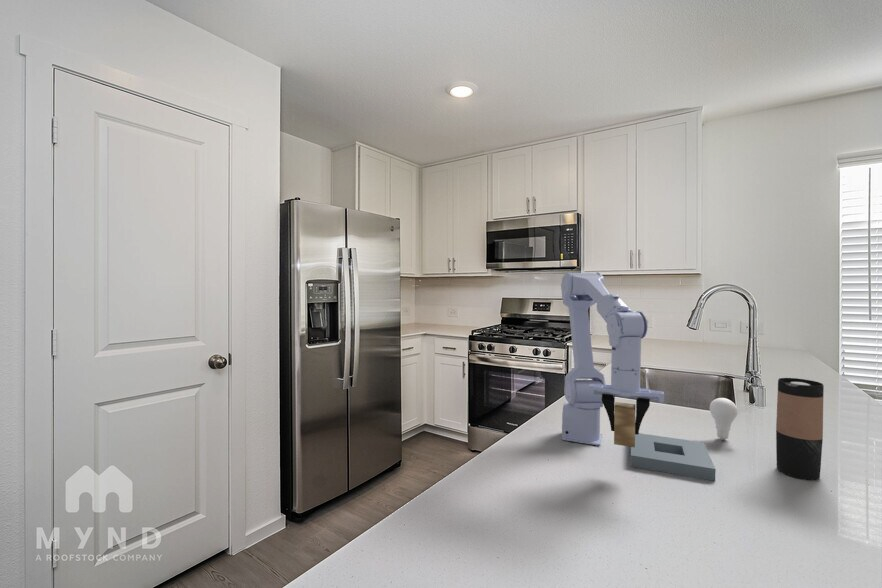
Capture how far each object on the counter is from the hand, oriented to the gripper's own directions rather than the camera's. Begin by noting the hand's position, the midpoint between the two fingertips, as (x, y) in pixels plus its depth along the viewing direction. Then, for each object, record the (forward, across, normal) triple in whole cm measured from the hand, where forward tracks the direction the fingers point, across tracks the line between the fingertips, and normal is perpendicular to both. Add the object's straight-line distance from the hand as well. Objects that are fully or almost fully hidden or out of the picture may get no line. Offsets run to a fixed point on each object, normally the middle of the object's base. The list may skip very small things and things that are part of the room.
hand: (624, 431), depth 89 cm
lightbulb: (+10, +23, +33) cm, 42 cm away
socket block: (+9, +9, +13) cm, 19 cm away
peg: (+2, 0, 0) cm, 2 cm away
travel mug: (+10, +34, +17) cm, 40 cm away
